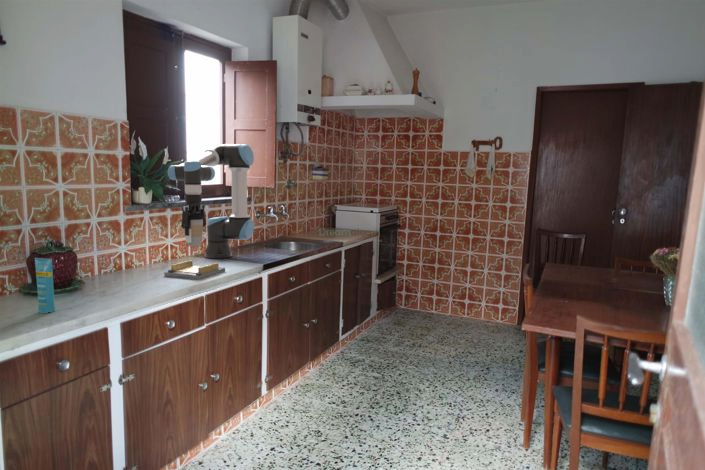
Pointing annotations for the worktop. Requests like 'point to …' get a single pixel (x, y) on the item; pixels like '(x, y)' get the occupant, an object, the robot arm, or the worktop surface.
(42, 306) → the tube
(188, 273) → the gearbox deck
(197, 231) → the coffee cup
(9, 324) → the worktop surface
